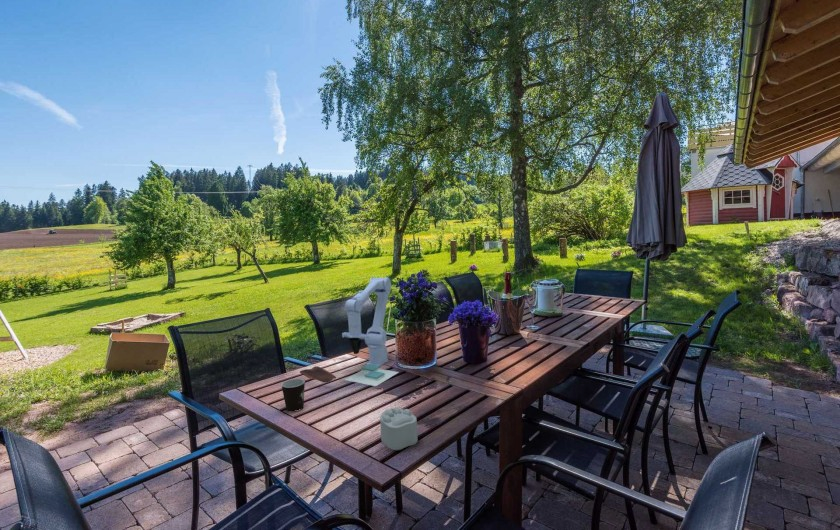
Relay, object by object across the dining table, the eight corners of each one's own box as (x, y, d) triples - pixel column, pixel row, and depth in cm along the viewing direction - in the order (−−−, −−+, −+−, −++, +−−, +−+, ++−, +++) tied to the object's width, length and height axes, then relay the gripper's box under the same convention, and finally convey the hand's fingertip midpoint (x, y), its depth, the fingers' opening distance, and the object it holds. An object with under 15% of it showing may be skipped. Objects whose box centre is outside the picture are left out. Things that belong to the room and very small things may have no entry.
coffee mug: (293, 415, 144) (291, 389, 143) (278, 410, 149) (276, 385, 148) (317, 402, 154) (315, 378, 153) (302, 398, 159) (300, 374, 158)
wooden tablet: (344, 378, 176) (324, 382, 170) (344, 383, 176) (324, 387, 170) (317, 365, 196) (298, 368, 189) (317, 369, 196) (298, 372, 190)
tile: (372, 370, 181) (384, 372, 178) (372, 374, 181) (384, 376, 178) (364, 375, 176) (376, 377, 173) (364, 378, 176) (377, 380, 173)
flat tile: (369, 367, 191) (369, 363, 191) (380, 369, 188) (380, 365, 187) (361, 371, 186) (361, 367, 186) (373, 373, 182) (373, 369, 182)
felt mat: (368, 367, 191) (368, 366, 191) (398, 373, 182) (398, 372, 182) (344, 380, 176) (344, 379, 176) (375, 387, 167) (375, 386, 167)
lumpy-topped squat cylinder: (392, 452, 117) (391, 425, 116) (374, 434, 128) (373, 409, 127) (421, 441, 122) (420, 415, 121) (402, 425, 133) (401, 400, 133)
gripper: (337, 325, 180) (338, 354, 182) (361, 328, 173) (363, 357, 174) (346, 322, 186) (348, 349, 188) (371, 324, 179) (372, 353, 181)
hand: (356, 353), depth 181 cm, fingers closed
